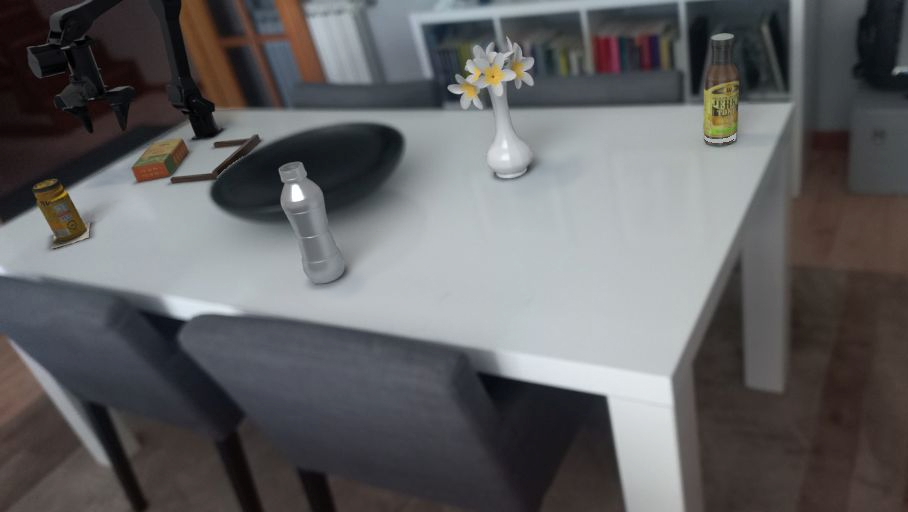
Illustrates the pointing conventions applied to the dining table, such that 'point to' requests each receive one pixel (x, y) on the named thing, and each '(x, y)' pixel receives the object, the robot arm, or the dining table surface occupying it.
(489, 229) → the dining table surface
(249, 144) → the frame
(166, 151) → the carton
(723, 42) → the sauce bottle
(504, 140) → the flower vase
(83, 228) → the condiment
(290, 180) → the plastic bottle
